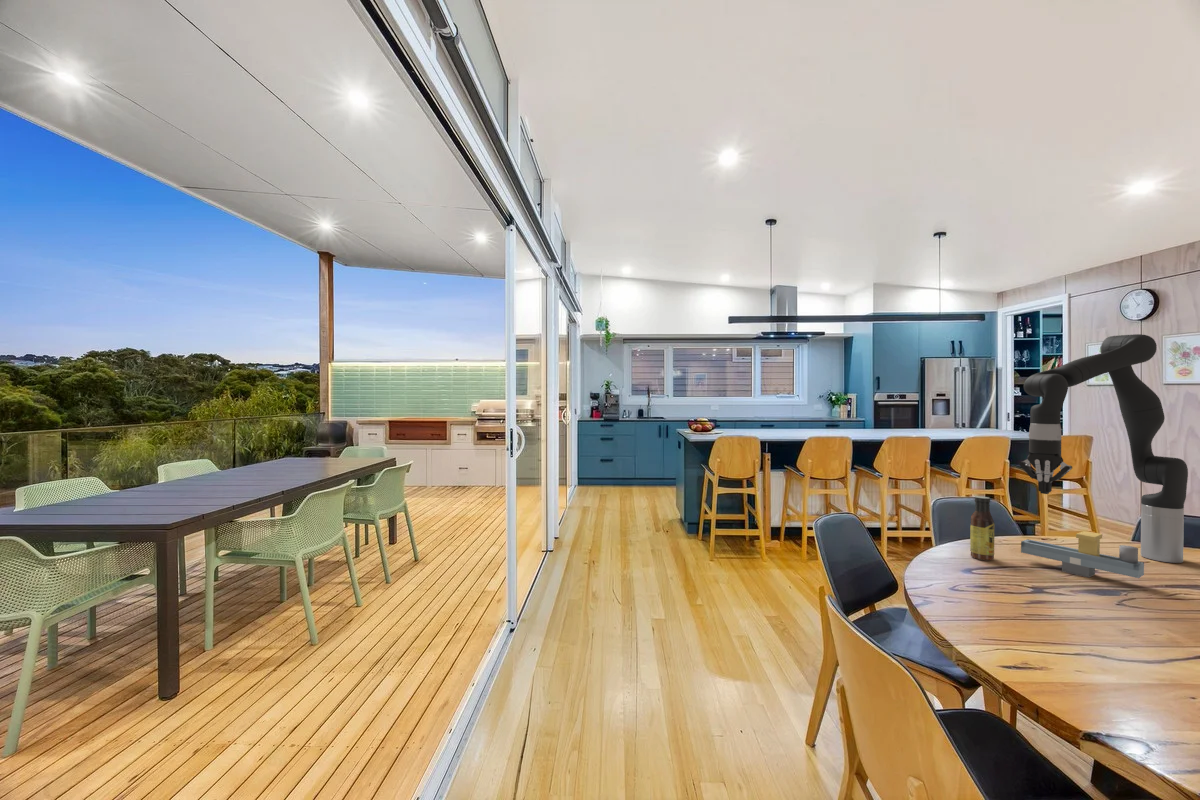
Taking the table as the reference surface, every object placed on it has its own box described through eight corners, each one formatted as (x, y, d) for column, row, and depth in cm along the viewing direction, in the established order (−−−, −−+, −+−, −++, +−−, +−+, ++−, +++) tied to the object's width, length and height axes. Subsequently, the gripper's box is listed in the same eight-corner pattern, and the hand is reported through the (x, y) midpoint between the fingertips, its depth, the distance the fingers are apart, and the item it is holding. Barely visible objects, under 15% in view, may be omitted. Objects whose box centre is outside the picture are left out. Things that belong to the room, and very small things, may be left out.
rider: (1075, 558, 147) (1076, 533, 147) (1083, 554, 150) (1083, 530, 150) (1094, 562, 144) (1094, 537, 144) (1101, 558, 147) (1102, 534, 147)
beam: (1020, 561, 159) (1021, 529, 159) (1027, 559, 162) (1027, 526, 161) (1138, 589, 137) (1138, 551, 136) (1143, 585, 139) (1144, 548, 139)
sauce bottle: (994, 562, 158) (995, 500, 158) (969, 558, 162) (970, 497, 162) (994, 557, 163) (994, 496, 163) (970, 553, 167) (970, 494, 167)
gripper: (1077, 439, 152) (1077, 495, 152) (1023, 436, 163) (1023, 488, 163) (1068, 440, 148) (1068, 498, 148) (1013, 437, 159) (1013, 491, 160)
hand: (1044, 493), depth 156 cm, fingers closed
